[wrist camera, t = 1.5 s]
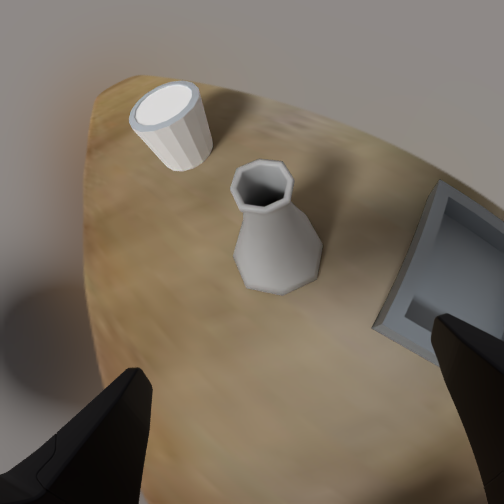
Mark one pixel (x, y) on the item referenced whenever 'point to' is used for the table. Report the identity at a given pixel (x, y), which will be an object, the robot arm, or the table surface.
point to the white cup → (174, 125)
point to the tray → (447, 273)
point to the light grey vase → (273, 230)
